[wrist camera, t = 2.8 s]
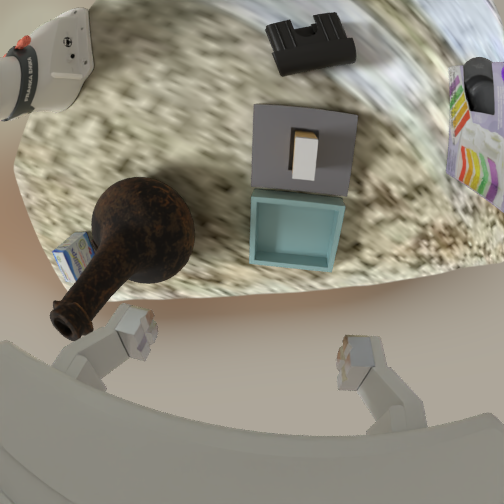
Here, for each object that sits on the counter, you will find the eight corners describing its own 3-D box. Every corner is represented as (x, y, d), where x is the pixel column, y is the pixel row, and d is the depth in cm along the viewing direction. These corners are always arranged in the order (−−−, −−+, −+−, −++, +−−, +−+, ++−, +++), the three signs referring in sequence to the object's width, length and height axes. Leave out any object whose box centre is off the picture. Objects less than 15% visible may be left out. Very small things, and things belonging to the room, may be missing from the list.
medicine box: (98, 261, 55) (77, 283, 48) (86, 260, 56) (65, 282, 49) (86, 230, 51) (62, 251, 44) (74, 231, 52) (50, 252, 44)
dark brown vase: (105, 181, 44) (-8, 264, 21) (187, 155, 40) (61, 247, 16) (138, 260, 53) (62, 365, 29) (217, 251, 49) (155, 388, 25)
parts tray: (254, 188, 41) (251, 196, 38) (341, 197, 40) (345, 206, 37) (252, 252, 47) (249, 263, 45) (329, 260, 46) (331, 272, 43)
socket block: (256, 104, 34) (253, 104, 32) (354, 114, 33) (358, 115, 31) (253, 181, 41) (251, 186, 39) (344, 190, 39) (347, 196, 37)
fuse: (295, 130, 35) (295, 137, 28) (313, 132, 35) (318, 139, 28) (292, 163, 38) (292, 178, 31) (310, 165, 37) (314, 180, 31)
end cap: (282, 79, 32) (279, 74, 26) (266, 37, 28) (260, 25, 23) (349, 66, 29) (360, 59, 23) (334, 23, 26) (341, 10, 20)
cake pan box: (444, 59, 24) (516, 54, 9) (468, 67, 23) (541, 70, 8) (441, 172, 34) (504, 219, 19) (463, 175, 33) (527, 222, 18)
